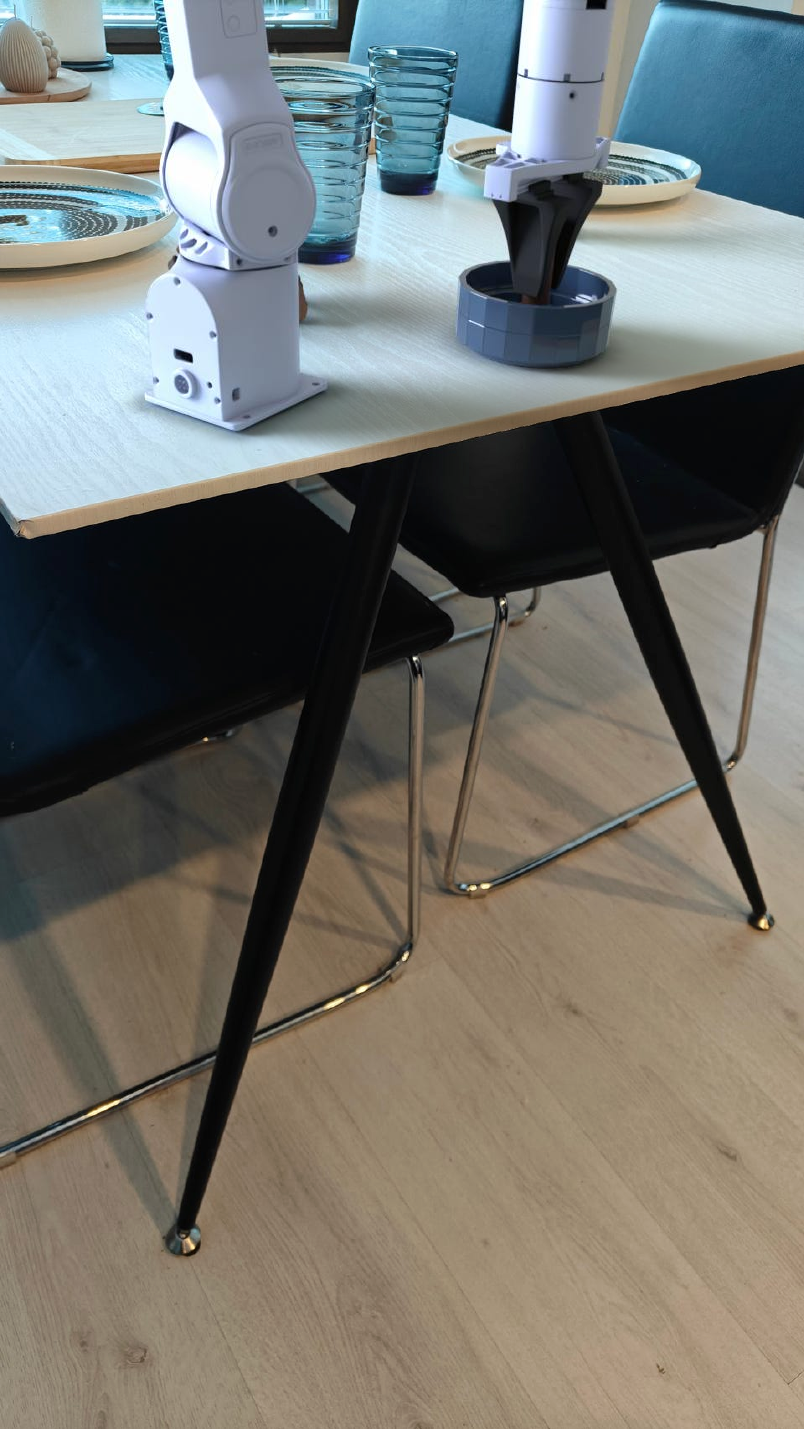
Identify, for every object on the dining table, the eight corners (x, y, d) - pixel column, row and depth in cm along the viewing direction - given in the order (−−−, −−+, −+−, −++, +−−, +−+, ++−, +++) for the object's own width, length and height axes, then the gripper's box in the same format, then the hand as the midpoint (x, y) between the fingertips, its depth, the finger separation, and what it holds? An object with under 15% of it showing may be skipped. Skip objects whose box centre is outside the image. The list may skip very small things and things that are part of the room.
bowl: (562, 384, 76) (571, 319, 73) (425, 346, 81) (429, 284, 78) (631, 341, 83) (641, 280, 81) (502, 309, 88) (508, 251, 86)
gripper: (558, 59, 78) (535, 258, 86) (450, 80, 68) (437, 302, 76) (649, 71, 75) (617, 276, 83) (550, 95, 65) (525, 324, 74)
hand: (536, 290), depth 80 cm, fingers closed
